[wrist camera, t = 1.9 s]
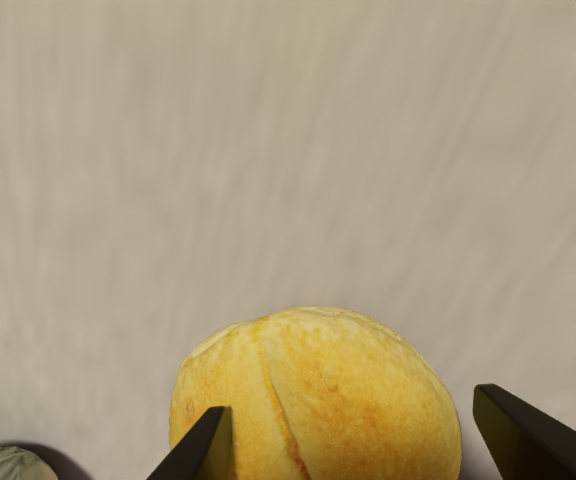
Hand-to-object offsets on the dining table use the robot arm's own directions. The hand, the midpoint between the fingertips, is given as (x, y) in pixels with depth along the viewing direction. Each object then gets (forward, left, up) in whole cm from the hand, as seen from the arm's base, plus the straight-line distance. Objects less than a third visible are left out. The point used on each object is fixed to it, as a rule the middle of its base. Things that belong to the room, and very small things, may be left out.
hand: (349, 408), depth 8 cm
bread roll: (-1, 0, -4) cm, 4 cm away
